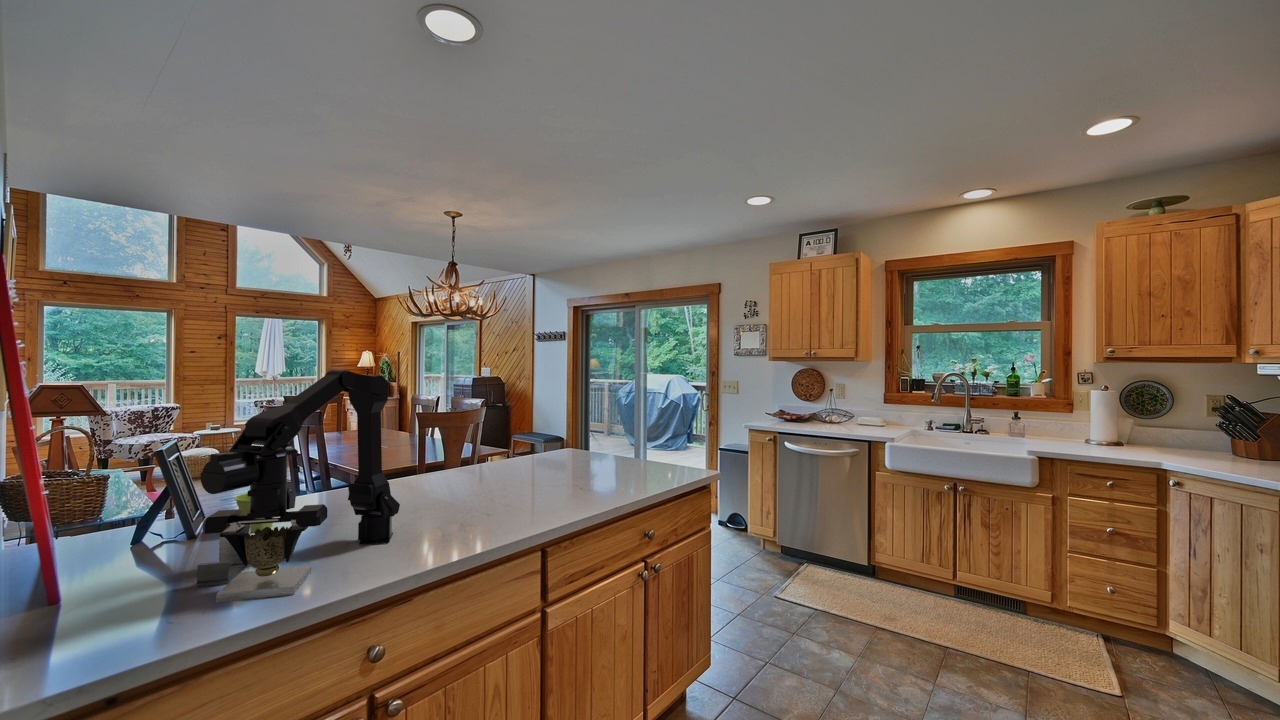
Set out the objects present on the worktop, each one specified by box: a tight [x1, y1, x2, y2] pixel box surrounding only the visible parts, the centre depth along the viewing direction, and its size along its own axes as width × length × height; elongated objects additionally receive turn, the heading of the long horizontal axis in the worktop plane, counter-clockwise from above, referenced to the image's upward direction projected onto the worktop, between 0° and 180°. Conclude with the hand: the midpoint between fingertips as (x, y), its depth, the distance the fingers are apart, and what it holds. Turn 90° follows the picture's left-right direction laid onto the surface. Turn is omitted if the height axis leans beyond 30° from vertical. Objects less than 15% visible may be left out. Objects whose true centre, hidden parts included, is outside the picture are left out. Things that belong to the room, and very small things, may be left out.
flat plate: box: [216, 565, 312, 603], centre depth 99 cm, size 12×10×2 cm
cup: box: [244, 526, 289, 577], centre depth 100 cm, size 8×7×8 cm
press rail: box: [196, 561, 250, 587], centre depth 106 cm, size 5×12×4 cm, turn 17°
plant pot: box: [233, 492, 275, 534], centre depth 132 cm, size 9×9×9 cm
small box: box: [218, 525, 252, 564], centre depth 109 cm, size 4×4×7 cm
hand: (267, 563), depth 100 cm, fingers closed on cup, 6 cm apart
